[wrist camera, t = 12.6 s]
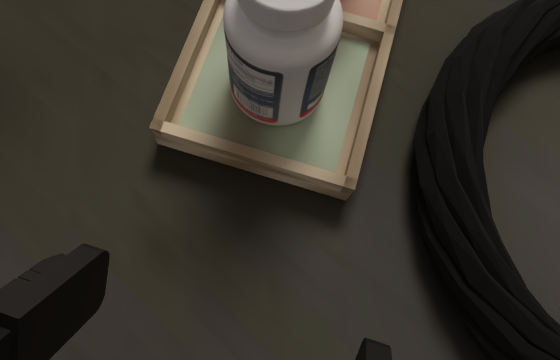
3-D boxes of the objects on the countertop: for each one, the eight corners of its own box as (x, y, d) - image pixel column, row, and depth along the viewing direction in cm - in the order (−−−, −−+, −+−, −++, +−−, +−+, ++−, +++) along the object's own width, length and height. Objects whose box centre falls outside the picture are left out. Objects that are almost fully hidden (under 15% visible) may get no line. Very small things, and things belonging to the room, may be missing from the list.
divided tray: (414, -67, 30) (426, -95, 28) (345, 200, 24) (354, 189, 22) (262, -110, 31) (263, -141, 29) (157, 143, 25) (149, 127, 23)
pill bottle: (310, 38, 26) (339, -97, 17) (333, 118, 24) (377, 13, 16) (221, 53, 25) (206, -80, 17) (239, 136, 24) (233, 36, 15)
